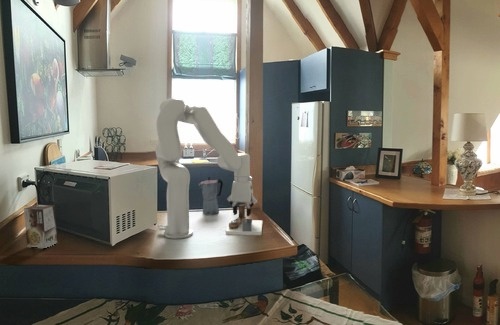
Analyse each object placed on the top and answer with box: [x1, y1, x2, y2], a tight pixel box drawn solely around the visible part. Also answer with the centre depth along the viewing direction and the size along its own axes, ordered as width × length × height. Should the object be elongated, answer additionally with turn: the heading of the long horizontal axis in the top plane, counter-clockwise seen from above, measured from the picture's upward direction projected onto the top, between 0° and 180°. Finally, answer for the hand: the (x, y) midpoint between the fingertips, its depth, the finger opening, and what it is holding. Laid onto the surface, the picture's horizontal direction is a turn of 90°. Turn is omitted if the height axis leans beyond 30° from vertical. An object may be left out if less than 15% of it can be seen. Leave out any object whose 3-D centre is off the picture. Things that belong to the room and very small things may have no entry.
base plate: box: [225, 219, 263, 236], centre depth 162 cm, size 16×18×2 cm
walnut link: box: [228, 204, 247, 228], centre depth 163 cm, size 15×4×8 cm, turn 161°
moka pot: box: [198, 176, 224, 215], centre depth 189 cm, size 10×15×20 cm, turn 133°
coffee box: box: [23, 204, 58, 249], centre depth 138 cm, size 9×6×16 cm
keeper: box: [230, 218, 253, 231], centre depth 157 cm, size 10×6×4 cm, turn 86°
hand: (241, 214), depth 168 cm, fingers open, 6 cm apart
